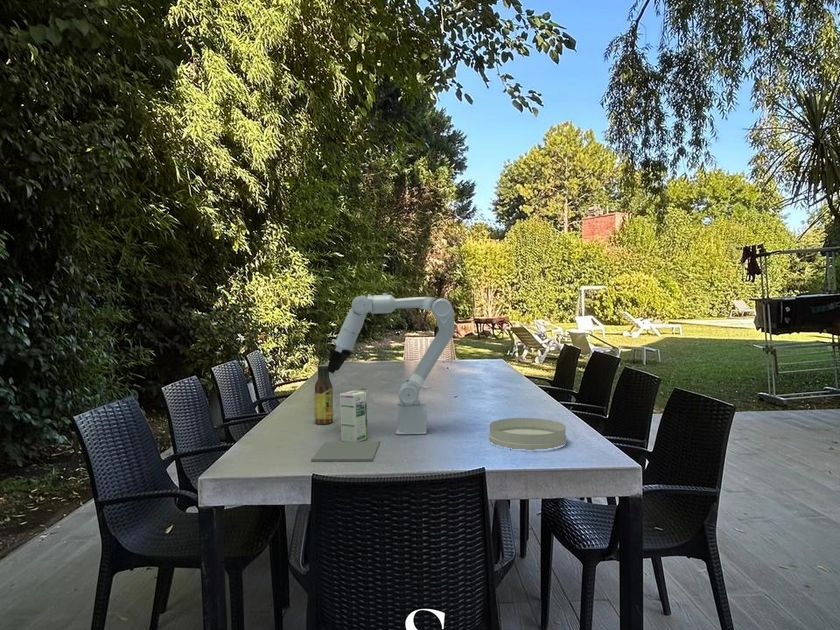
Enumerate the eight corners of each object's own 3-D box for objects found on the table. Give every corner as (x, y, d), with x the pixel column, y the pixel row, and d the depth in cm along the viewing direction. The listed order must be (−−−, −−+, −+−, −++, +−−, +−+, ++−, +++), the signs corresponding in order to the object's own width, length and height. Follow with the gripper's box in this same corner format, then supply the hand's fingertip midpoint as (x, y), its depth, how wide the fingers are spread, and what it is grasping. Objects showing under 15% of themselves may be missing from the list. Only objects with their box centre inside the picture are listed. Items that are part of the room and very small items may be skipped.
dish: (480, 449, 153) (480, 431, 153) (498, 431, 174) (498, 415, 173) (561, 456, 145) (561, 437, 145) (570, 436, 165) (570, 420, 165)
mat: (379, 443, 159) (379, 441, 159) (372, 461, 141) (372, 459, 141) (325, 443, 160) (325, 441, 160) (311, 461, 142) (311, 459, 142)
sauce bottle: (329, 425, 184) (328, 366, 184) (311, 424, 185) (310, 366, 185) (336, 421, 191) (335, 364, 190) (319, 420, 192) (318, 364, 191)
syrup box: (356, 443, 160) (355, 394, 159) (340, 441, 163) (339, 392, 162) (368, 439, 164) (367, 391, 164) (352, 437, 168) (351, 389, 167)
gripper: (342, 325, 180) (325, 363, 180) (334, 327, 165) (316, 368, 165) (361, 334, 180) (345, 372, 180) (355, 336, 165) (337, 377, 165)
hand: (332, 370), depth 173 cm, fingers open, 7 cm apart
